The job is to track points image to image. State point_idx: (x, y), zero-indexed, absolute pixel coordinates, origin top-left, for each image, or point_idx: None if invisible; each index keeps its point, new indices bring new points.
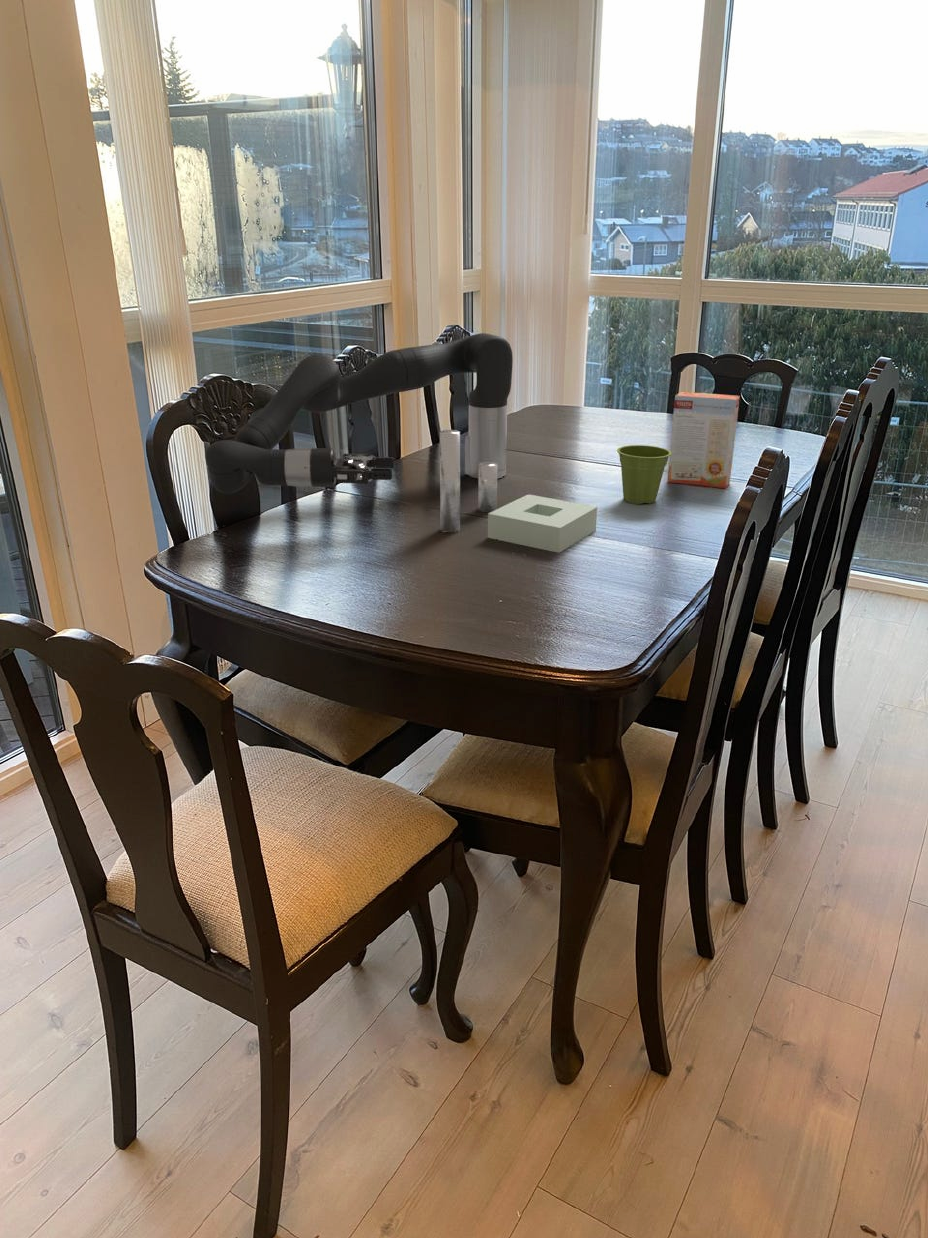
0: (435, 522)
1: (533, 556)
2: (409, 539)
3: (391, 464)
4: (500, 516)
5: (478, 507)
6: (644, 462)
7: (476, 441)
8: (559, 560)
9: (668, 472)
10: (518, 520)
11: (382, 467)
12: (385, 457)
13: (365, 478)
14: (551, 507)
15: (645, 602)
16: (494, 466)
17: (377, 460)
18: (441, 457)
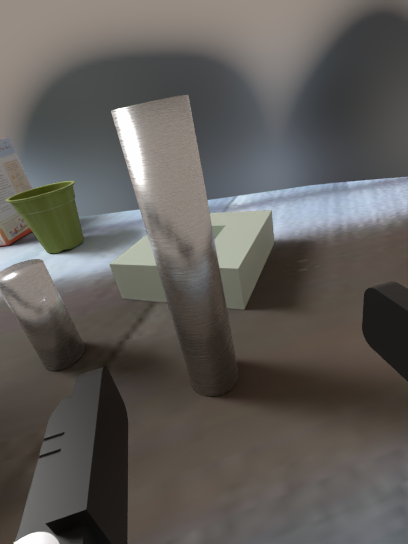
0: (159, 427)
1: (302, 254)
2: (337, 447)
3: (117, 406)
4: (246, 255)
5: (62, 364)
6: (71, 191)
7: None
8: (301, 237)
9: (3, 235)
10: (255, 239)
11: (126, 484)
12: (78, 416)
13: None
14: None
15: (370, 189)
16: (41, 260)
17: (101, 497)
18: (195, 195)
